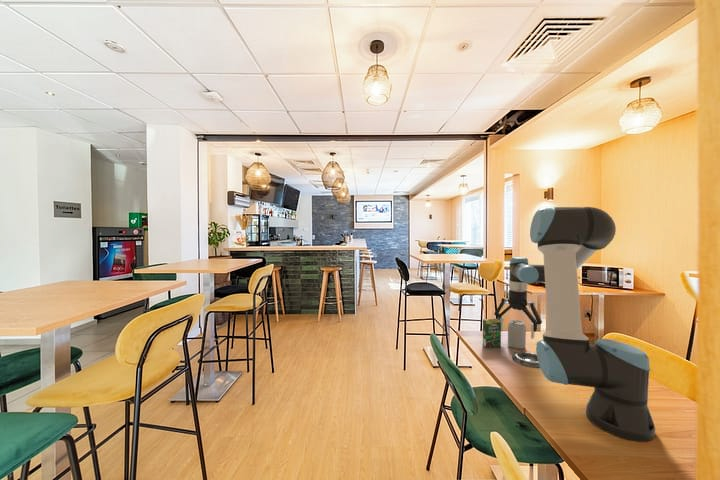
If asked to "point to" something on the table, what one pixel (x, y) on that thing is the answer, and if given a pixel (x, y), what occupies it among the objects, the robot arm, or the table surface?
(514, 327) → the can
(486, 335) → the coffee box
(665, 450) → the table surface
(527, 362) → the flange socket
